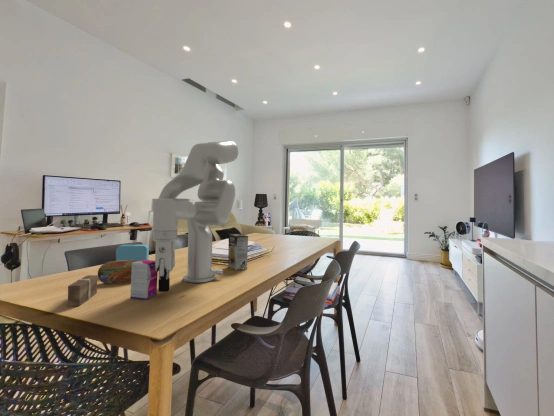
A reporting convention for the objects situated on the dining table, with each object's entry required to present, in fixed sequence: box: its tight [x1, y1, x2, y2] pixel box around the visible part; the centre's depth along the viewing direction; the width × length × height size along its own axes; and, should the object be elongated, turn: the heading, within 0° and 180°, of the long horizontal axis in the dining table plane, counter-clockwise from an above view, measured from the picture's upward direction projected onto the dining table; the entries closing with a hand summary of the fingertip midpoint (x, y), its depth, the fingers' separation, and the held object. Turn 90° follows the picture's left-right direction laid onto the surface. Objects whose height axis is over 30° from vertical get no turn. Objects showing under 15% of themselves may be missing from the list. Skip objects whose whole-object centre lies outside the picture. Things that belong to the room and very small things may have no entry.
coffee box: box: [227, 233, 249, 271], centre depth 132 cm, size 9×6×16 cm
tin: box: [97, 260, 137, 285], centre depth 104 cm, size 15×3×8 cm, turn 117°
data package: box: [115, 243, 150, 261], centre depth 119 cm, size 12×4×12 cm, turn 105°
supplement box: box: [129, 260, 159, 301], centre depth 88 cm, size 6×6×12 cm
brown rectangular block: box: [67, 274, 98, 308], centre depth 85 cm, size 3×12×6 cm, turn 13°
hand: (163, 290), depth 90 cm, fingers closed
